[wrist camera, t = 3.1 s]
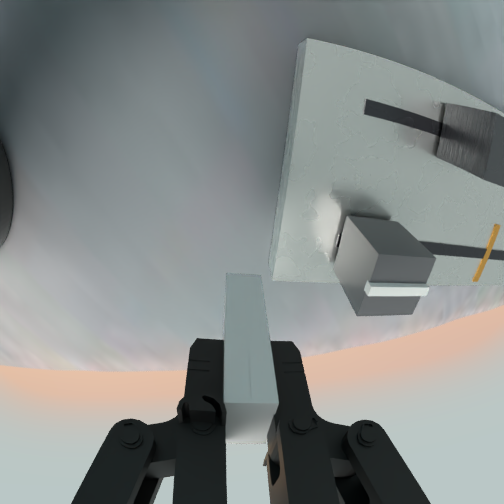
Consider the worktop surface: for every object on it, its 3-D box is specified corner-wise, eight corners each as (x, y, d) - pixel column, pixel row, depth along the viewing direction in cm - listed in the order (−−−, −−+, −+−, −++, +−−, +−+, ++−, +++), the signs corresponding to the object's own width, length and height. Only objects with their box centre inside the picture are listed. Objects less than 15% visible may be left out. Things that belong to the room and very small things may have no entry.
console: (268, 262, 24) (283, 333, 17) (298, 44, 16) (337, 17, 9) (508, 273, 27) (545, 311, 20) (548, 149, 19) (597, 173, 12)
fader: (332, 269, 21) (358, 320, 16) (345, 215, 19) (380, 258, 14) (382, 271, 21) (415, 318, 16) (398, 221, 19) (440, 262, 14)
